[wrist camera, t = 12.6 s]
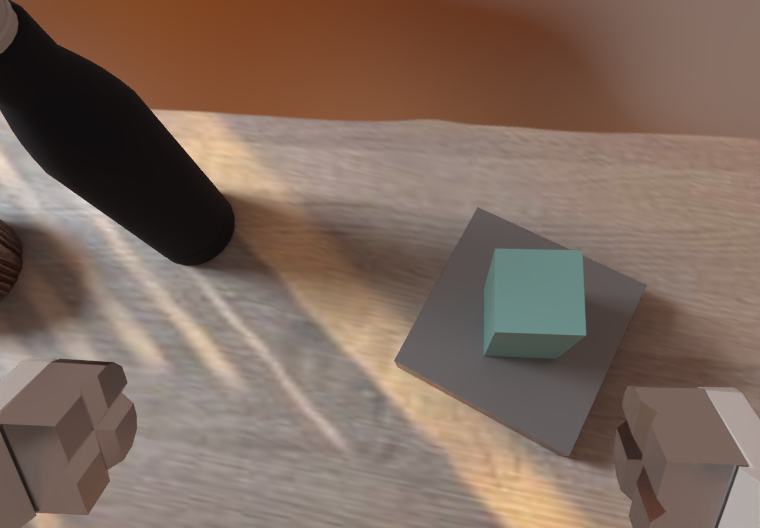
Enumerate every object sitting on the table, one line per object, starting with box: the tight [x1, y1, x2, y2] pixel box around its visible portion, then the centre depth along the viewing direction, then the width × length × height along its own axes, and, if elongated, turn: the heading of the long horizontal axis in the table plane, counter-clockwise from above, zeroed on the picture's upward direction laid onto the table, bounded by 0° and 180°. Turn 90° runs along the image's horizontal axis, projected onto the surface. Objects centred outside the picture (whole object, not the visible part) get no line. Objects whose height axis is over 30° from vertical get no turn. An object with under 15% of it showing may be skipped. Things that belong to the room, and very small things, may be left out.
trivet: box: [394, 208, 646, 456], centre depth 39 cm, size 12×12×3 cm
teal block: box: [484, 249, 586, 359], centre depth 34 cm, size 4×4×8 cm
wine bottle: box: [0, 0, 234, 265], centre depth 31 cm, size 6×6×30 cm
